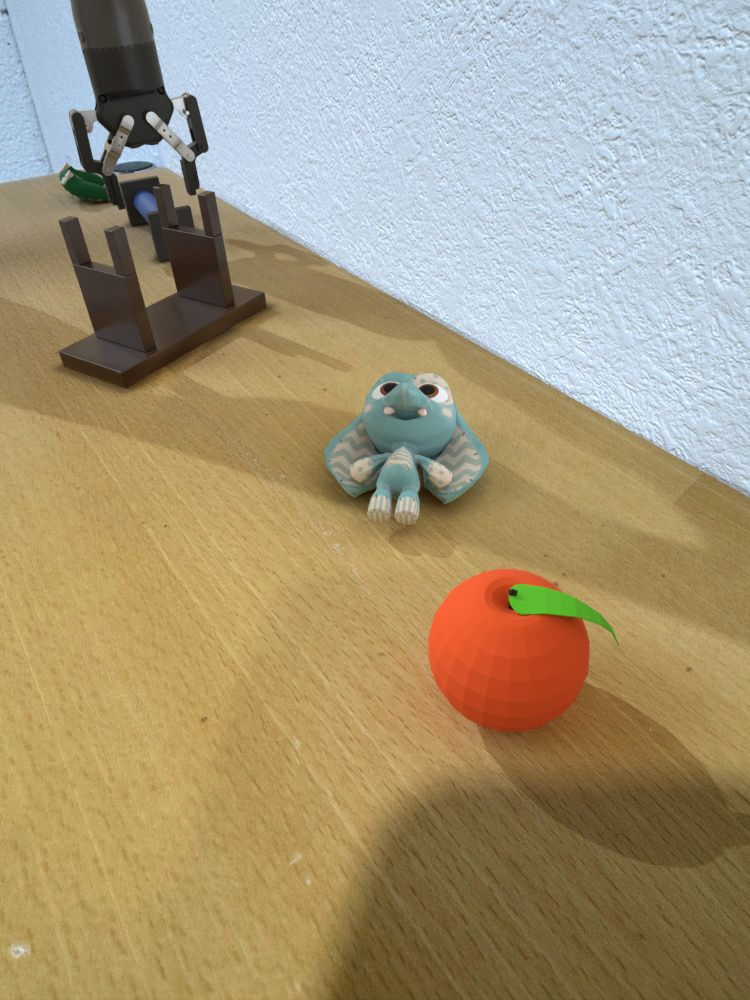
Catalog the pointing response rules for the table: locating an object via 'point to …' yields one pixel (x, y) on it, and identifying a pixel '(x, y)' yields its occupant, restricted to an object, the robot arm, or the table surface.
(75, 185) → the green banana bunch
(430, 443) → the stuffed animal
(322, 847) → the table surface
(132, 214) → the handle
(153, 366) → the holder
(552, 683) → the clementine
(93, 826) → the table surface
